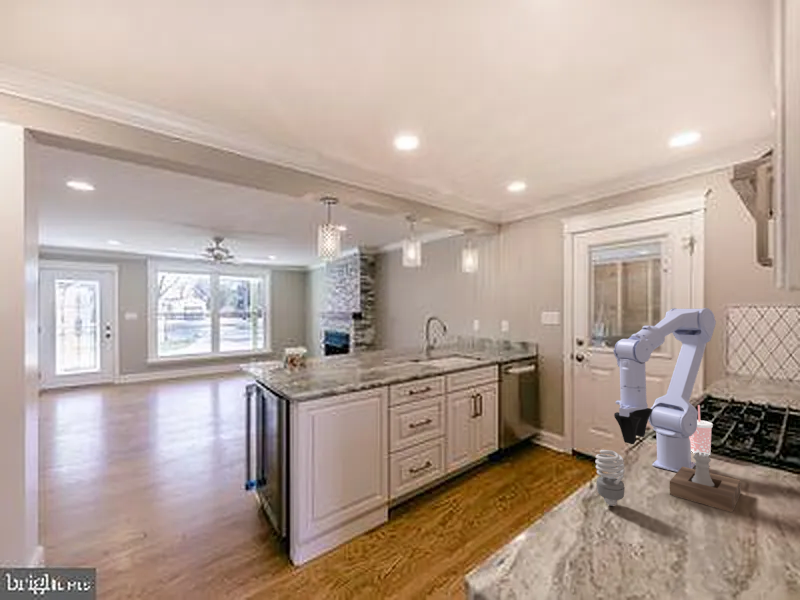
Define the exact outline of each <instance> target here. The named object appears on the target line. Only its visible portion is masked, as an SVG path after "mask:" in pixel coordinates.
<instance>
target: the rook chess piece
mask: <svg viewBox="0 0 800 600" xmlns="http://www.w3.org/2000/svg"><path fill="white" fill-rule="evenodd" d="M692 458H693V459H694V460H695V462H694V463H695V470H696V471H695V476H693V477H694V478H692V480H691V482H695V483H699V484H702V485H706V486H710V487H715V485H714V483H713V482H712V479H711V477H710V473H711V472H710V467H711V466H710V465H709V464H710V462H711V461H712V459H711V458H710V456H709V455H708V454H705V455H704V453H701V454H699V452H697V453H695V454H694V455H693V457H692Z"/></svg>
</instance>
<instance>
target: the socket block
mask: <svg viewBox="0 0 800 600" xmlns="http://www.w3.org/2000/svg"><path fill="white" fill-rule="evenodd" d="M695 471H696V468H695V469H694V468H693V469H691V468H687V467H681V469H680V470H679V471H678V472H676V473H675V474H674V475H673V477H671V479H670V480H669V495H670V496H674V497H677V498H682V499H685V500H688V501H691V502H695V503H699V504H702V505H706V506H708V507H712V508H716V509H719V510H723V511H726V512H730V513H733V511H734V509H735V508H736V505H737V503H738V500H739V498H740V496H741V480H740V479H735V478H732V477H727V476H725V475H720V474H716V473H712V472H709V473H710V477H711V479H712V482H713V483H714V485H715V487H710V486H706V485H702V484H699V483H695V482H691V480H692V478H694V477H693V476H695Z"/></svg>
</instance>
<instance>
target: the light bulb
mask: <svg viewBox="0 0 800 600" xmlns="http://www.w3.org/2000/svg"><path fill="white" fill-rule="evenodd" d="M595 458H596V459H595V464H596V465H595V468H596V474H597V475H598V476H599V477H597V479H596V490H597V494H598V495H600V496H601V497H602V498H603V500H604V503H606V505H608V506H610V507H614V506H616V505H618V501H619V500H623V499H624V497H625V483H624V482H623V481H622V480H623V479H624V474H625V473H626V472H625V467H626V466H625V463H624V462H625V459H624V458H623V456H622V455H621V454H619V453H618V452H616V451H614V450H611V449H610V450H609V449H600V450H599V453H597V454H596V455H595Z"/></svg>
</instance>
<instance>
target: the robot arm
mask: <svg viewBox="0 0 800 600" xmlns="http://www.w3.org/2000/svg"><path fill="white" fill-rule="evenodd" d="M715 317H716V316H715V313H714V312H713V311H712V309H710V308H709V307H703V308H676V307H674V308H671V309H669V310H667V311H666V312H665V316H664V318H662V319H661V320H660V321H658V323H656V324H655V325H643V326H642V327H641V329H640V330H638V331H637V332H635V333H633V334H631V336H629V338H621V339H620V340H617V342H616V343H615V345H614V349H612V350H613V351H612V352H613V354H614V357H615V359H616V363H617V364H616V365H617V367H619V387H620V389H619V390H620V392H619V393H620V394H619V395H620V400H619V399H617V400H615V404H616V405H619V408H618V410H619V411H618V412H617V411H616V412H614V415H613V416H614V419H615V420H616V422H617V423H618V426H619V428H620V432H621V435H622V438H623V439H622V440H623V441H624V443H626V444H628V445H629V444H630V445H635V443H636V439H637V436H638V437H641V438H644V437H645V434H646V430H647V426H648V425H647V424H648V423H649V425H650V426H651V427H652V428H653V431H655V433H656V460H654V462H653V463H652V464H651V466H652V467H656V468H659V469H664V470H666V471H667V470H668V471H671V472H676V473H677V472H678V471H679V470H680V469H681V467H687V468H691V469H694V467H696V465H695V463H696V462H694V461H692V452H691V442H690V439H689V436H692V435H693V434H694V433H695V431H696V429H697V420H698V409H697V408H696V407H695V406H694V405H693V404H692V403H691V402H690V399H691V396H692V394H693V389H694V386H695V383H696V380H697V377H698V374H699V370H700V366H701V363H702V360H703V357H704V353H705V350H706V347H707V343H708V342H711V341H712V337H713V334H714V330H715V328H716V325H717V321H716V319H715ZM671 334H672V335H673V336H674V338H675V339H676V340H677V341H679V342H681V348H680V350H679V354H678V357H677V360H676V363H675V366H674V369H673V372H672V375H671V378H670V383H669V385H668V387H667V390H666V394H664V395H662V396H659V397H657V398H656V399H655V400H654V403H653V405H652V406H651V407H650V408H649V407H648V402H647V380H646V379H647V377H646V373H647V371H646V362H648V361H649V360H650V358H651V356H652V354H653V352H654V351H655V350H656V349H657V348H659V347H660V346H661V345H663V344H664V343H665V340H666V337H667V336H669V335H671Z"/></svg>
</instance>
